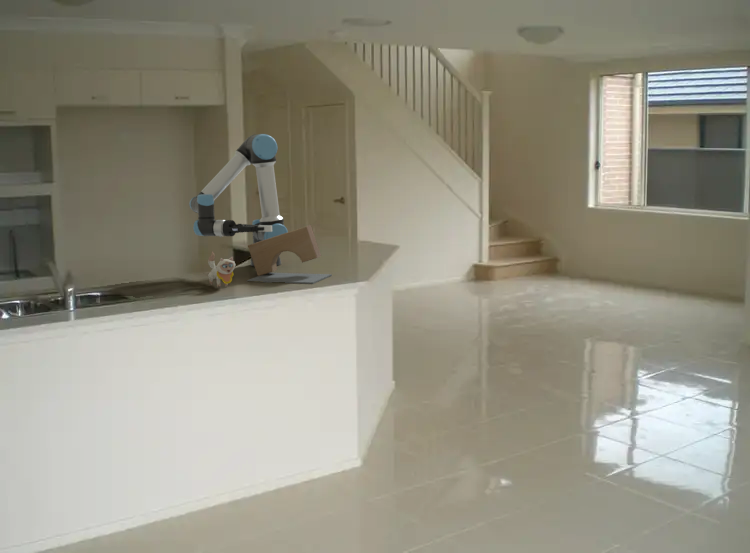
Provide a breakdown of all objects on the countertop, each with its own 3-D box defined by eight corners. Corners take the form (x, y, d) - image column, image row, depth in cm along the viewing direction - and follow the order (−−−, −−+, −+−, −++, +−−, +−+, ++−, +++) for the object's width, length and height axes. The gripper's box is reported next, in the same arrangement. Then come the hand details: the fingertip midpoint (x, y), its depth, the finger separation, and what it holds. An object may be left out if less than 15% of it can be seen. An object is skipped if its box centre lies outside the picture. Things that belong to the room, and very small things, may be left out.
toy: (220, 290, 376) (218, 255, 374) (200, 285, 392) (198, 251, 389) (239, 288, 382) (237, 253, 379) (219, 282, 397) (217, 249, 394)
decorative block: (247, 245, 409) (306, 226, 401) (252, 243, 416) (311, 224, 408) (257, 276, 410) (316, 258, 402) (263, 274, 417) (321, 255, 410)
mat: (268, 273, 418) (268, 272, 418) (331, 275, 408) (331, 274, 408) (246, 281, 398) (246, 280, 398) (313, 283, 387) (312, 282, 387)
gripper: (232, 234, 422) (278, 235, 414) (219, 237, 409) (265, 238, 402) (231, 218, 420) (277, 219, 413) (218, 221, 408) (264, 221, 400)
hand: (271, 228), depth 407 cm, fingers closed
